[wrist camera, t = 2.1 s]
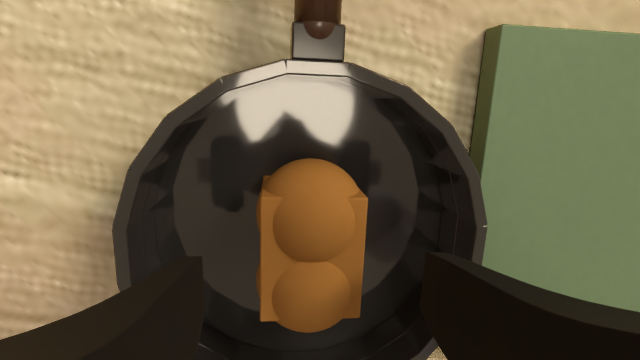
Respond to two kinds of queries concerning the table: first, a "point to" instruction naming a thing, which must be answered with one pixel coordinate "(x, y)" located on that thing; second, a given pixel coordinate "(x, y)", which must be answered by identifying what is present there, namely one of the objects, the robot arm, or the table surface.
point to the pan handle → (317, 31)
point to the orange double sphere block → (310, 245)
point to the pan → (263, 160)
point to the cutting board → (561, 160)
